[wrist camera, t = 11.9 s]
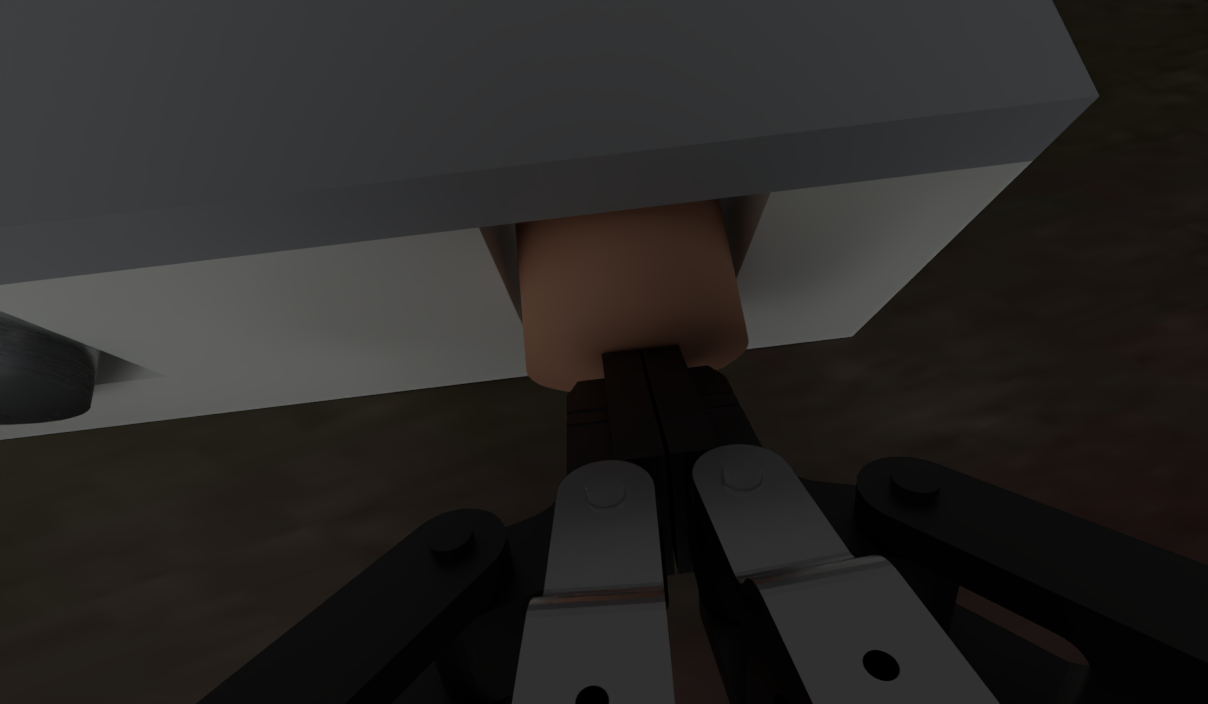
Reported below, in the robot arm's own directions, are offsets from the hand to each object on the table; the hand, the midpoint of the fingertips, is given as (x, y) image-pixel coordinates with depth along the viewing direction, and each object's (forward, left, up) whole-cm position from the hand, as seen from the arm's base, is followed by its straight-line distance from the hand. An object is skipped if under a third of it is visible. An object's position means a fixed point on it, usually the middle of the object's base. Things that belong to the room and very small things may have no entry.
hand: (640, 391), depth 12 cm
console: (+1, -10, -6) cm, 12 cm away
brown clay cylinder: (-1, -2, -2) cm, 3 cm away
